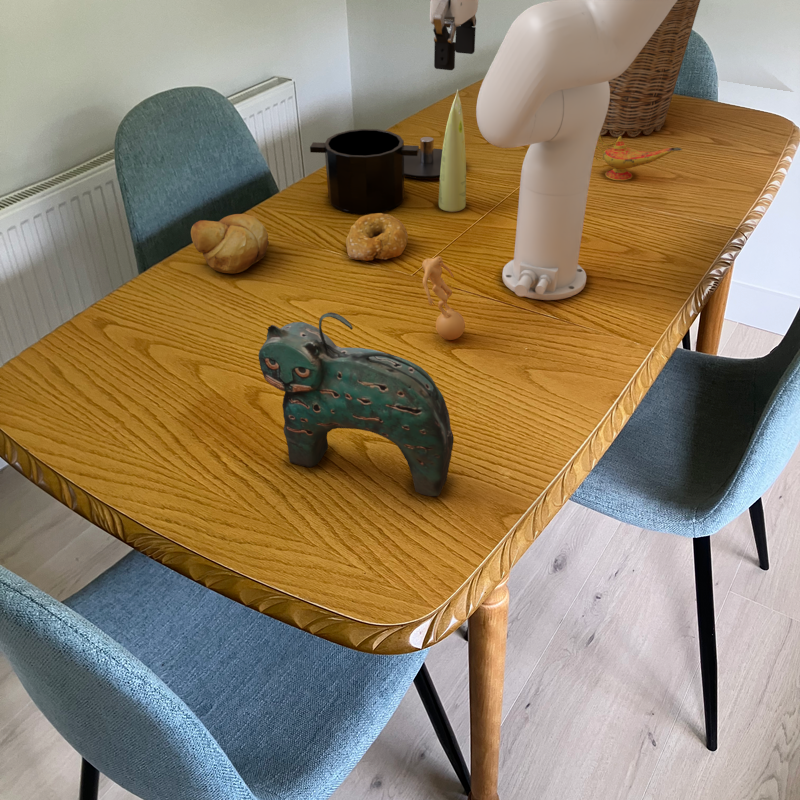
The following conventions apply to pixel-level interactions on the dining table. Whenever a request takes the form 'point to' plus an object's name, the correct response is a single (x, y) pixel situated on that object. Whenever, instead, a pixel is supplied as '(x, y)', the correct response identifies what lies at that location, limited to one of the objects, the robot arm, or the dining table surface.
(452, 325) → the figurine
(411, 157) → the pot lid
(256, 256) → the bread roll
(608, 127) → the wicker basket
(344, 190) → the pot
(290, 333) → the ceramic cat
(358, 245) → the bagel
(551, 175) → the robot arm
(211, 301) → the dining table surface
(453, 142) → the tube
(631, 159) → the magic lamp
